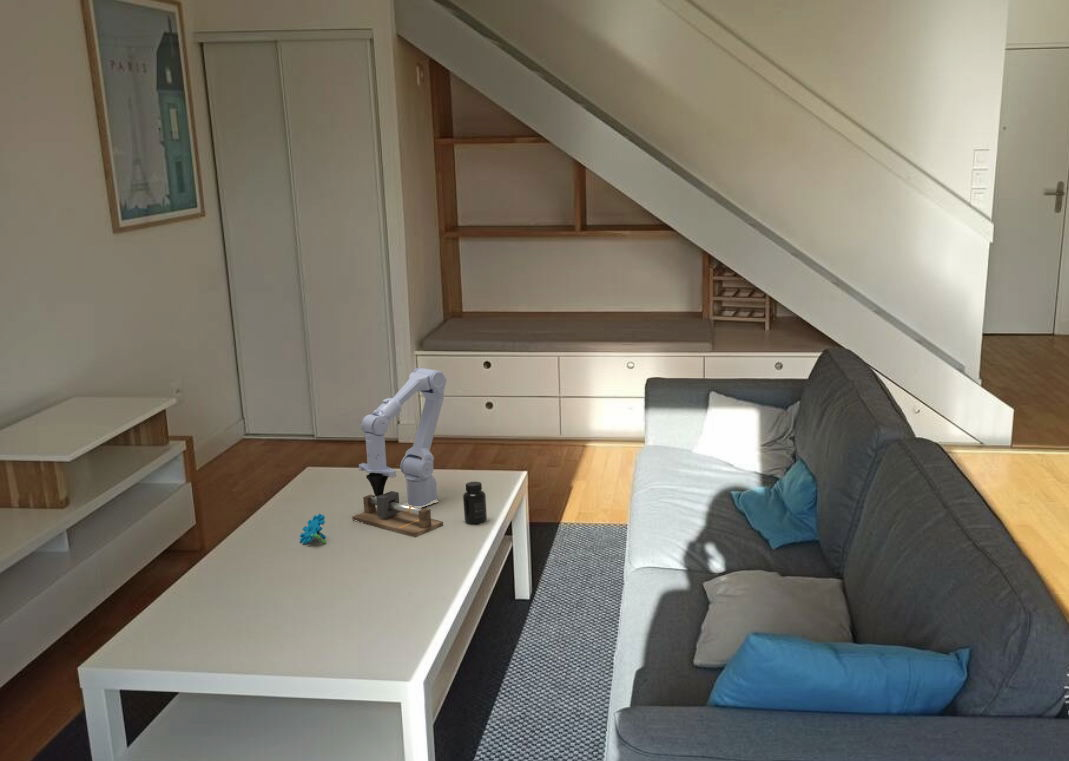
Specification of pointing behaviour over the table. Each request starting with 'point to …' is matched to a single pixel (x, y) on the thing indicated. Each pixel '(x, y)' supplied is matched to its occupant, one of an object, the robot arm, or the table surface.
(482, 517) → the supplement bottle
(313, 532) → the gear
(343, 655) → the table surface
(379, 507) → the collar
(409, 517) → the pipe stand
